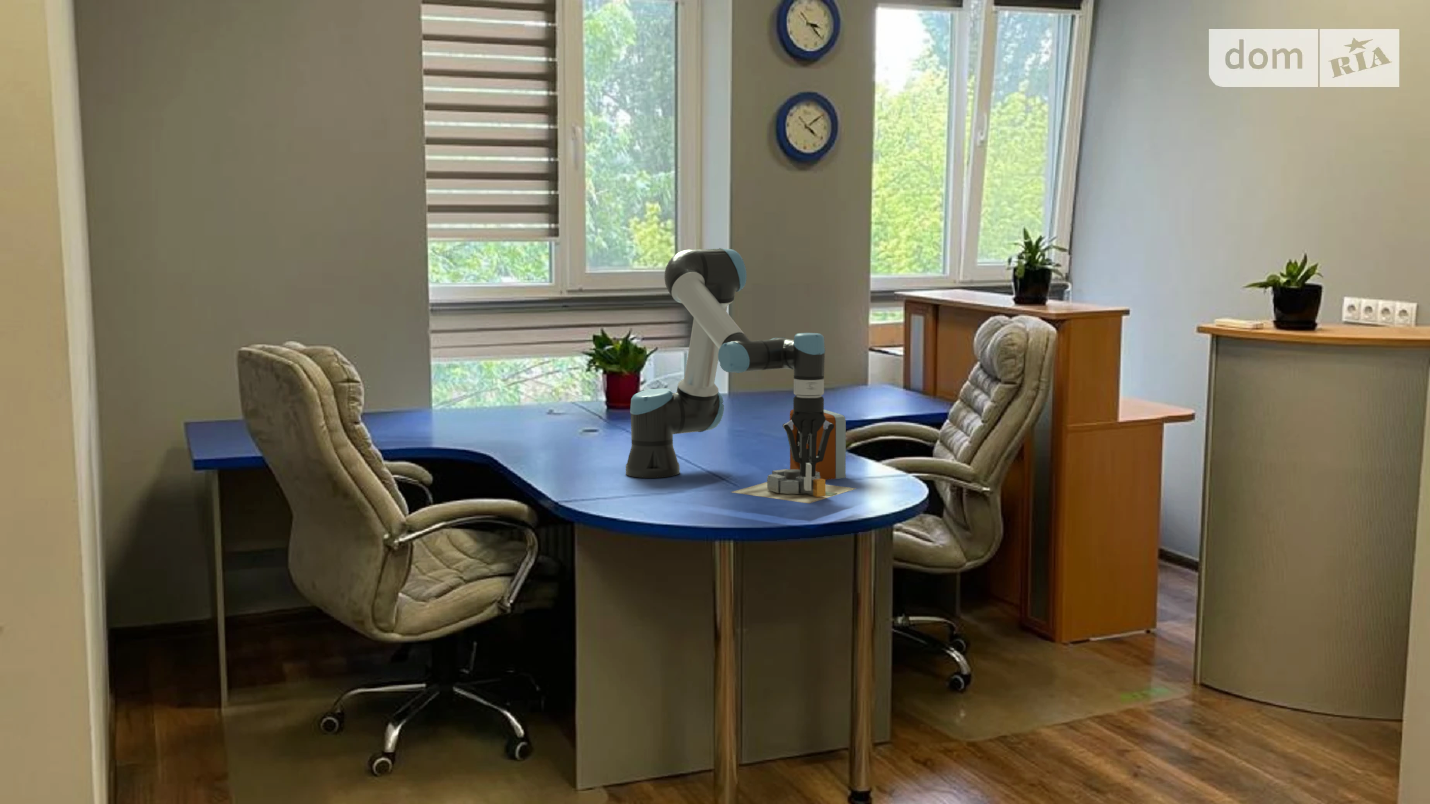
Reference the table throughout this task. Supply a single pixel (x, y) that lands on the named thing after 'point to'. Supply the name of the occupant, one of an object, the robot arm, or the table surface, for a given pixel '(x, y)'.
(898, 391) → the table surface
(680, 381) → the robot arm
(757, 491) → the collar base
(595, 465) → the table surface
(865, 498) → the table surface
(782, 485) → the grey handled ring
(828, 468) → the alarm clock
